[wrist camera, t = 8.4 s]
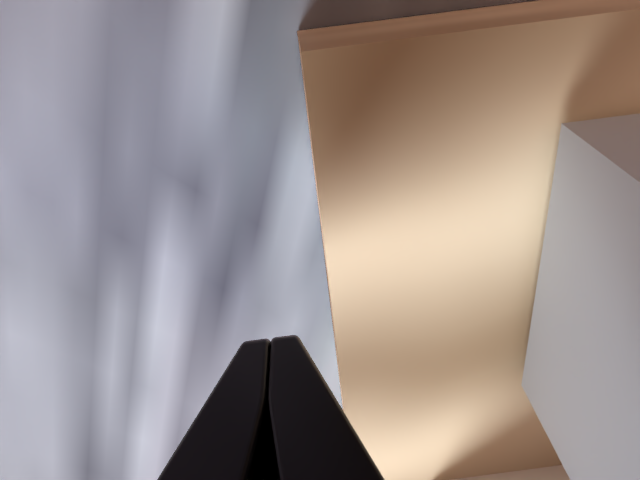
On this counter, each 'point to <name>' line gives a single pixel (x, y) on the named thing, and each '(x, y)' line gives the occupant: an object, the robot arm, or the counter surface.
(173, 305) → the counter surface
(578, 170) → the light grey block
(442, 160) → the gauge base
